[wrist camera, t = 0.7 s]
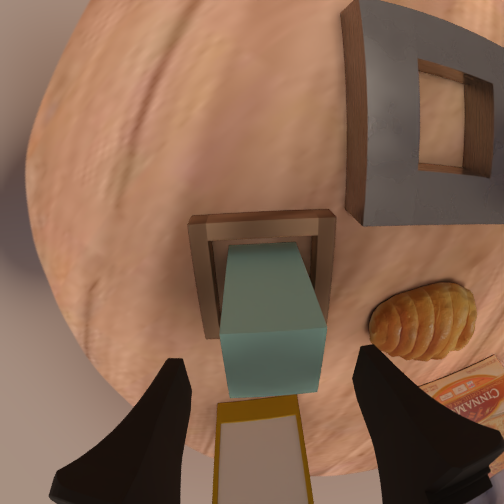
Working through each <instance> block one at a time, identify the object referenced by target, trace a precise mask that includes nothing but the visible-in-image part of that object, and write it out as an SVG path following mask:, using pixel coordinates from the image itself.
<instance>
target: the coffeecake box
mask: <svg viewBox="0 0 504 504" xmlns="http://www.w3.org/2000/svg"><path fill="white" fill-rule="evenodd" d="M419 388H421V389H422V390H423V391H424V392H426V393H427V394H428V395H429V396H431V397H432V398H434V399H435V400H437V401H438V402H439V403H441V404H442V405H444V406H445V407H447V408H449V409H450V410H452V411H454V412H456V413H458V414H459V415H461V416H463V417H465V418H467V419H469V420H472V421H474V422H476V423H479V424H481V425H484V426H487V427H490V428H493V429H496V430H499V431H500V433H501V435H502V437H503V438H504V367H503V366H502V365H501V363H500V362H499V361H498V359H497V358H496V356H495V355H493V356H491V357H489V358H487V359H485V360H483V361H481V362H479V363H477V364H474V365H472V366H470V367H468V368H466V369H463V370H461V371H459V372H457V373H454V374H452V375H449V376H447V377H444V378H442V379H439V380H436V381H434V382H431V383H428V384H426V385H423V386H420V387H419ZM489 467H490V469H491V472H490V473H489V474H488V476H489V478H491V477H492V476H494V475H495V474H497V473H498V472H500V471H501V470H503V469H504V452H503V453H502V454H501V455H500V456H499V457H498V458H497V459H496V460H494V461H493V462H492V463H491V464H490V465H489Z"/></svg>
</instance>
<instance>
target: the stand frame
mask: <svg viewBox="0 0 504 504" xmlns="http://www.w3.org/2000/svg"><path fill="white" fill-rule="evenodd" d="M187 226H188V233H189V240H190V247H191V254H192V261H193V268H194V274H195V281H196V287H197V293H198V299H199V305H200V311H201V316H202V322H203V327H204V333H205V338H206V339H220V335H219V334H220V323H221V314H220V307H219V299H218V291H217V283H216V275H215V266H214V257H213V249H212V241H216V240H234V239H252V238H272V237H292V236H312V249H311V271H310V281H311V284H312V286H313V289H314V292H315V294H316V297H317V300H318V303H319V305H320V308H321V311H322V314H323V316H324V319H325V322H326V325H327V318H328V310H329V301H330V291H331V282H332V271H333V259H334V246H335V232H336V216H335V215H334V214H333V213H332V212H331V211H330V210H329V209H319V210H289V211H266V212H246V213H228V214H212V215H198V216H192V217H191V219H190V221H189V223H188V225H187Z"/></svg>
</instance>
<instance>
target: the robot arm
mask: <svg viewBox="0 0 504 504" xmlns="http://www.w3.org/2000/svg"><path fill="white" fill-rule="evenodd" d="M352 380H353V384H354V389H355V393H356V397H357V401H358V403H359V406H360V409H361V412H362V414H363V417H364V420H365V423H366V425H367V428H368V431H369V434H370V436H371V439H372V443H373V446H374V450H375V455H376V459H377V464H378V470H379V476H380V482H381V491H382V501H383V504H504V469H503V470H501V471H500V472H498V473H497V474H495V475H494V476H492V477H491V478H489V476H488V474H489V473H490V472H491V469H490V467H489V465H490V464H491V463H492V462H493V461H494V460H496V459H497V458H498V457H499V456H500V455H501V454H502V453H503V452H504V438H503V437H502V435H501V433H500V431H499V430H496V429H493V428H490V427H487V426H484V425H481V424H479V423H476V422H474V421H472V420H469V419H467V418H465V417H463V416H461V415H459V414H458V413H456V412H454V411H452V410H450V409H449V408H447V407H445V406H444V405H442V404H441V403H439V402H438V401H437V400H435V399H434V398H432V397H431V396H429V395H428V394H427V393H426V392H424V391H423V390H422V389H421V388H419V387H418V386H417V385H416V384H415V383H413V382H412V381H411V380H410V379H409V378H408V377H407V376H406V375H405V374H404V373H403V372H402V371H400V370H399V369H398V368H397V367H396V366H395V365H394V364H393V363H392V362H391V361H390V360H389V359H388V358H387V357H386V356H385V355H384V354H383V353H382V352H381V351H380V350H379V349H378V348H377V347H376V346H375V345H374V344H372V345H366V346H361V347H360V351H359V355H358V359H357V363H356V366H355V370H354V374H353V377H352ZM191 396H192V389H191V385H190V382H189V379H188V375H187V372H186V368H185V365H184V361H183V359H182V358H168V359H167V360H166V361H165V363H164V365H163V366H162V368H161V369H160V371H159V373H158V374H157V376H156V377H155V379H154V380H153V382H152V383H151V385H150V386H149V388H148V389H147V390H146V392H145V393H144V395H143V396H142V397H141V399H140V400H139V401H138V403H137V404H136V405H135V406H134V408H133V409H132V410H131V411H130V413H129V414H128V415H127V416H126V417H125V418H124V419H123V421H122V422H121V423H120V424H119V425H118V426H117V427H116V428H115V429H114V430H113V431H112V432H111V433H110V434H109V435H107V436H106V437H105V438H104V439H103V440H102V441H101V442H100V443H98V444H97V445H96V446H95V447H93V448H92V449H91V450H89V451H88V452H87V453H85V454H84V455H83V456H81V457H80V458H78V459H77V460H75V461H73V462H72V463H70V464H68V465H67V466H65V467H63V468H61V469H60V470H58V471H57V472H56V474H55V477H54V479H53V483H52V486H51V490H50V493H49V498H50V499H51V500H52V501H54V502H55V503H57V504H180V487H181V486H180V484H181V463H182V455H183V450H184V444H185V439H186V433H187V428H188V422H189V417H190V411H191Z"/></svg>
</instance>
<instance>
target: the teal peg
mask: <svg viewBox="0 0 504 504" xmlns="http://www.w3.org/2000/svg"><path fill="white" fill-rule="evenodd" d="M326 333H327V325H326V322H325V319H324V316H323V314H322V311H321V308H320V305H319V303H318V300H317V297H316V294H315V292H314V289H313V286H312V284H311V281H310V278H309V276H308V273H307V270H306V268H305V265H304V263H303V260H302V257H301V255H300V252H299V250H298V247H297V244H296V242H282V243H262V244H243V245H229V249H228V257H227V266H226V275H225V285H224V294H223V304H222V313H221V323H220V334H219V335H220V341H221V348H222V354H223V360H224V367H225V373H226V379H227V385H228V390H229V396H230V398H246V397H266V396H281V395H292V394H303V393H312V392H317V390H318V385H319V379H320V373H321V367H322V361H323V354H324V347H325V340H326Z"/></svg>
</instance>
